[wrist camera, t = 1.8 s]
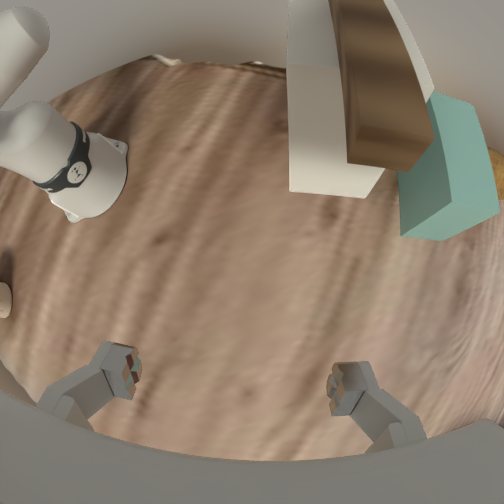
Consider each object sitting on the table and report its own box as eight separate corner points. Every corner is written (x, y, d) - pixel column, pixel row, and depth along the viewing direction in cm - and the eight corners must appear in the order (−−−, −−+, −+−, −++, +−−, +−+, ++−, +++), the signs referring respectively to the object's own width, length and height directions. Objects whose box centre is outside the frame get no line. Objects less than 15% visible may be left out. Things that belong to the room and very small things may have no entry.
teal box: (400, 236, 39) (451, 201, 24) (394, 147, 42) (427, 89, 26) (441, 240, 38) (500, 212, 22) (432, 154, 41) (473, 105, 25)
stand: (289, 191, 43) (285, 64, 17) (294, 103, 46) (289, -20, 20) (365, 198, 41) (434, 88, 16) (358, 109, 44) (389, -7, 18)
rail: (408, 172, 15) (434, 139, 11) (347, 163, 15) (361, 124, 11) (363, 1, 18) (367, -26, 14) (327, -4, 19) (328, -32, 15)
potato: (508, 214, 37) (532, 202, 29) (459, 194, 39) (482, 177, 31) (503, 171, 38) (524, 155, 30) (455, 149, 40) (474, 128, 32)
